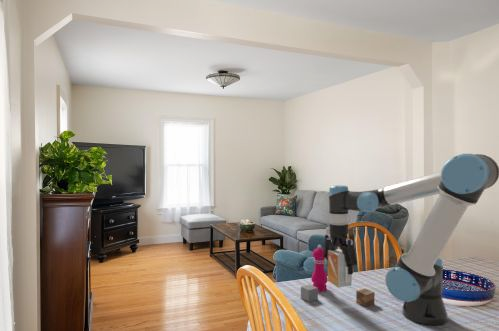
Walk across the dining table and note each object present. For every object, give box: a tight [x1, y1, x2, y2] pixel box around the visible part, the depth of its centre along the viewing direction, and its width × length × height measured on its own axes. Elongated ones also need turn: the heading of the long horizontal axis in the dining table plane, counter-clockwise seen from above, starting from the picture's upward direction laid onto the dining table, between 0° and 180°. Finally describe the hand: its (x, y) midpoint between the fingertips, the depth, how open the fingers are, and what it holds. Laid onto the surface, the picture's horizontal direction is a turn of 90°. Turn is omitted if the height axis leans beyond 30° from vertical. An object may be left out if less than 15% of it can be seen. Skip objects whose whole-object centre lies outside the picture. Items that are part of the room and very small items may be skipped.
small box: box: [327, 248, 352, 288], centre depth 147 cm, size 8×6×13 cm
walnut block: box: [355, 288, 375, 308], centre depth 147 cm, size 5×5×5 cm
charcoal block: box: [300, 284, 319, 303], centre depth 152 cm, size 5×5×5 cm
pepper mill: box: [311, 244, 329, 292], centre depth 164 cm, size 7×7×20 cm
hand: (339, 278), depth 147 cm, fingers closed on small box, 9 cm apart
